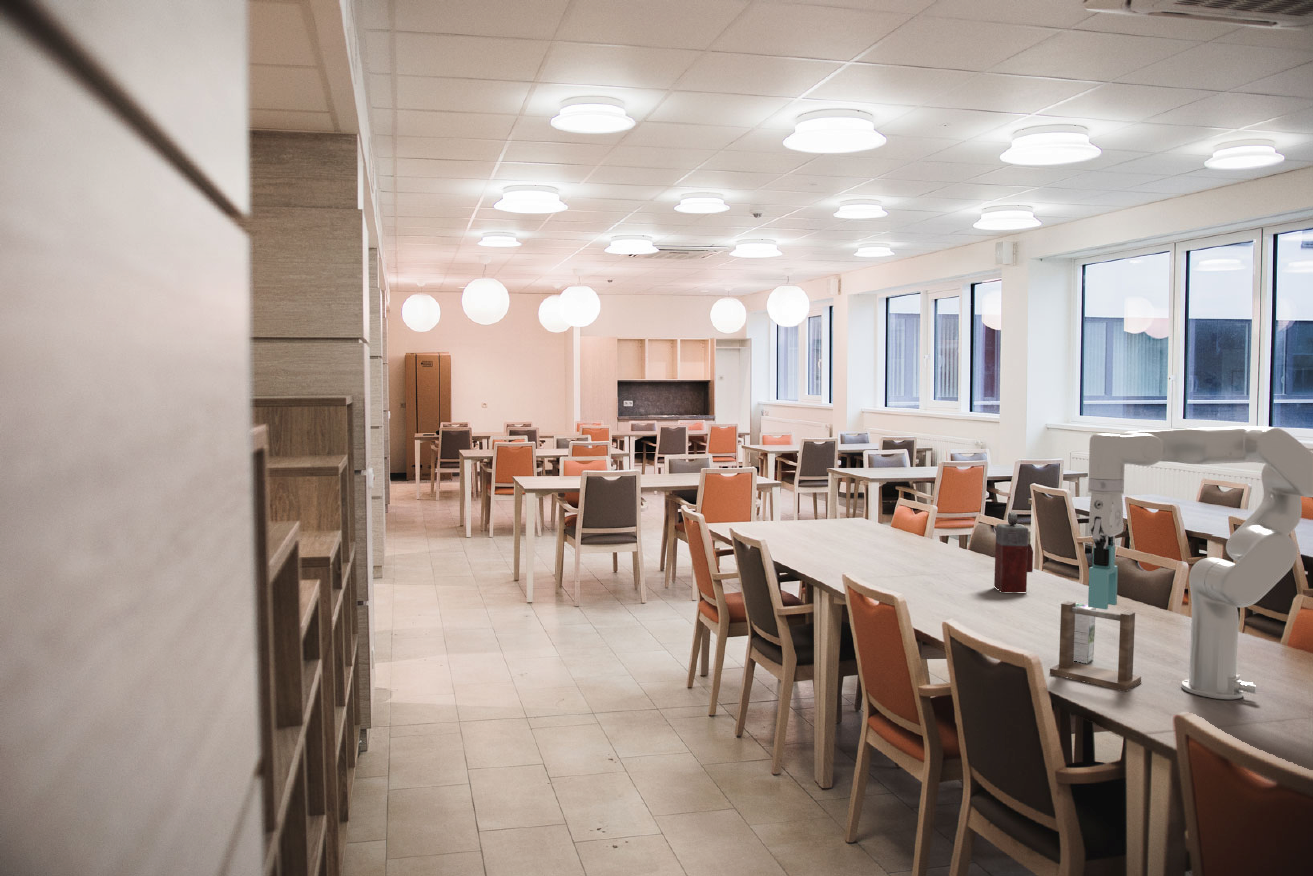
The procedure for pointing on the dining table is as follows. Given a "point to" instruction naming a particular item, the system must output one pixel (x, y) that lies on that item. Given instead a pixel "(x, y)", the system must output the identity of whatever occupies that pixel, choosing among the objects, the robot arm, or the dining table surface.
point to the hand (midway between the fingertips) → (1103, 563)
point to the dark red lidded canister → (1012, 556)
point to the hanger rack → (1089, 673)
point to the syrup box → (1084, 636)
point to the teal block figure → (1103, 583)
